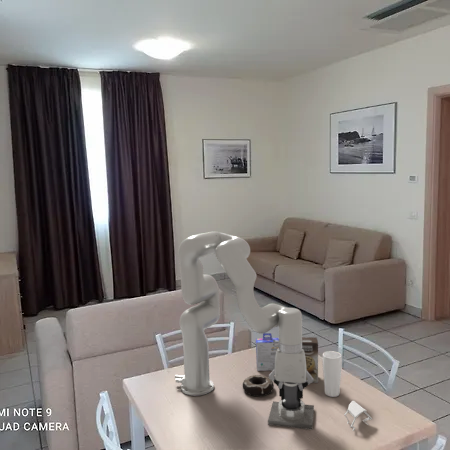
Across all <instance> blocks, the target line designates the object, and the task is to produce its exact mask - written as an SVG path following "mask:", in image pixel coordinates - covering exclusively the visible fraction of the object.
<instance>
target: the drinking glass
mask: <svg viewBox="0 0 450 450" xmlns="http://www.w3.org/2000/svg"><path fill="white" fill-rule="evenodd" d="M342 357H343V356H342V354H341V353H340V352H338V351H334V350H328V351H327V350H326V351H324V352H323V353H322V358H321V359H322V372H323V373H322V374H323V386H324V394H325V395H326V396H327V397H331V398H336V397H339V395H340V393H341V391H340V390H341V389H340V388H341V379H342V378H341V377H342V363H343V361H342V360H343V359H342Z"/></svg>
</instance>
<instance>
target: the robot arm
mask: <svg viewBox="0 0 450 450" xmlns="http://www.w3.org/2000/svg"><path fill="white" fill-rule="evenodd" d="M250 254H251V247H250V244H249V243H248V242H247V241H246V240H245V239H244V238H242V237H239V236H236V235H232V234H228V233H224V232H220V231H214V230H213V231H209V232H204V233H198V234H197V233H196V234H194V235H190V236H188V237H187V238H185V239H183V240H182V241H181V242H180V244H179V246H178V249H177V257H178V263H179V268H180V273H179V274H180V289H181V296H182V297H181V298H182V300H183V301H184V303H185V304H186V305H190V306H191V307H189V308H187V309H185V310H184V311H183V312H182V313H181V315H179V327H180V331H181V336H182V346H183V350H182V351H183V369H184V371H183V373H184V374H182V375H181V374H174V380H175V383H178V384H179V383H181V385H180V391H181V392H182V393H183V394H185V395H187V396H195V397H196V396H198V397H199V396H204V395H208V394H209V393H211V392H212V391H213V390H214V387H215V383H214V381H213V380H211V379H210V357H209V356H210V355H209V341H208V338H207V336H206V333H205V330H206V329H208V328H210V327H212V326H213V325H215V324H217V322H218V321H219V320H220V315H221V309H220V308H221V306H220V305H221V304H220V290H219V285H218V282H217V280H216V279H215V277H214V276H212V275H210V274H204V267H203V263H202V261H201V259H202V258H204V257H208V256H213V255H215V257H216V259H217V261H218V262H219V264H220V265H221V267H222V269H223V270H224V272H225V274H226V275H227V276H228V278H229V279H230V281H231V283H232V284H233V285H234V288H235V293H236V294H235V295H236V300H237V301H236V302H237V306H238V309H239V312H240V314H241V315H242V317H243V319H244V321H246V323H247V325H248V326H249V327H250V328H251V330H252V331H254V332H255V333H256V334H257V333H258V334H263V333H268V332H269V331H270V330H273V329H274V328H276V327H278V338H279V341H278V342H275V343H274V345H275V346H277V347H278V349H277V351H276V357H275V369H274V370H271V372H270V373H269V374H268V378H270V379H271V380H272V381H273V384H275V385H276V386H277V389H279V390H278V391H279V393H278V394H279V395H278V396H279V398H280V400H282V401H283V400H284V390H283V382H289V383H298V386H299V389H298V402H300V401H301V400H302V399H303V397H304V389H306V388H307V387H308V386H309V385H310V384H313V383H312V382H313V380H314V379H313V377H312V376H311V375H310V374H309V372H308V371H307V369H306V358H305V353H304V350H303V349H302V337H303V315H302V312H301V310H300V309H298V308H295V307H286V306H283V305H280V304H278V303H274V302H273V303H268V304H266V305H264V306H262V307H261V306H260V305H259V303H258V301H257V298H256V297H255V294H254V287H255V282H256V280H257V273H256V271H255V269H254V268H253V266H251V265H252V264H250V262H249V261H248V258H249V256H250ZM192 305H193V306H192ZM306 377H307V380H306Z"/></svg>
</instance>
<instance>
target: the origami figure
mask: <svg viewBox="0 0 450 450" xmlns="http://www.w3.org/2000/svg"><path fill="white" fill-rule="evenodd" d="M348 413H349V414H350V415H351V416H352V417H353V421H352V423H351V425H350V428H353V429H352V431H353V432H354V431H355V430H356V427H355V426H354V425H355V422H356V419H357V418H358V417H359V416H360V415H362V413H364V414H365V415H366V416H367V417H366V418H364V419H362V422H363V423H364V424H366V425H367V426H369V424H368V423H367V421H371V420H373V418H372V417H371V415H370V414H369V413H368V412H367V409H365V408H363V407H362V406H361V405H360V404H359V403H357V402H356V401H355V400H354V399H353V400H352V401H351V402H350V403H349V404H348V408H347V409H346V411H345V413H344V414H343V415H344V416H345V418H346V419H347V422H346V423H347V424H349V423H350V420H349V418H348V417H347V414H348Z"/></svg>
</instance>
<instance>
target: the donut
mask: <svg viewBox="0 0 450 450" xmlns="http://www.w3.org/2000/svg"><path fill="white" fill-rule="evenodd" d="M274 384H275V383H274V381H272V380H271V379H270V378H269V376H266V375H261V374H254V375H253V374H252V375H250V376H247V377H246V378H245V379H244V380H243V382H242V390H243V391H244V392H245V393H246V394H247V395H250V396H253V397H263V396H267V395H269V394H271V393H272V391H274V387H275V385H274Z"/></svg>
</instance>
